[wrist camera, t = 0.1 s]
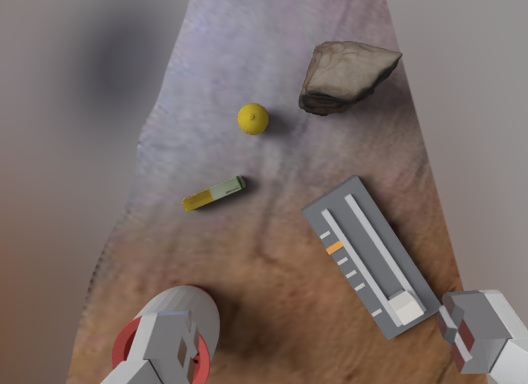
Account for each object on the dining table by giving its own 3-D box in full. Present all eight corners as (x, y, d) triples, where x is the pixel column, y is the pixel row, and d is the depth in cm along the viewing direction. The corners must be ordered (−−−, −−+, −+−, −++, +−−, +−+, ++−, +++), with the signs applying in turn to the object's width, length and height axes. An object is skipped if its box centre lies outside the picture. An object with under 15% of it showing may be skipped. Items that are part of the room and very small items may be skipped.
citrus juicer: (163, 359, 70) (116, 440, 51) (145, 280, 69) (89, 332, 49) (235, 349, 69) (217, 427, 49) (219, 268, 68) (193, 316, 48)
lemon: (267, 104, 63) (265, 97, 55) (271, 134, 64) (269, 131, 56) (238, 108, 64) (232, 102, 56) (242, 137, 64) (236, 135, 56)
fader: (412, 300, 63) (424, 313, 58) (394, 311, 63) (404, 325, 58) (404, 287, 63) (415, 299, 58) (385, 299, 63) (394, 311, 58)
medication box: (241, 174, 65) (238, 175, 61) (247, 187, 66) (244, 188, 62) (186, 197, 67) (180, 200, 63) (192, 210, 67) (186, 213, 63)
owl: (377, 77, 62) (422, 41, 42) (343, 138, 63) (371, 131, 44) (317, 44, 62) (334, -8, 42) (284, 106, 63) (285, 84, 43)
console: (436, 301, 66) (446, 310, 62) (382, 332, 67) (388, 344, 63) (353, 174, 64) (358, 176, 60) (300, 209, 65) (301, 213, 61)
